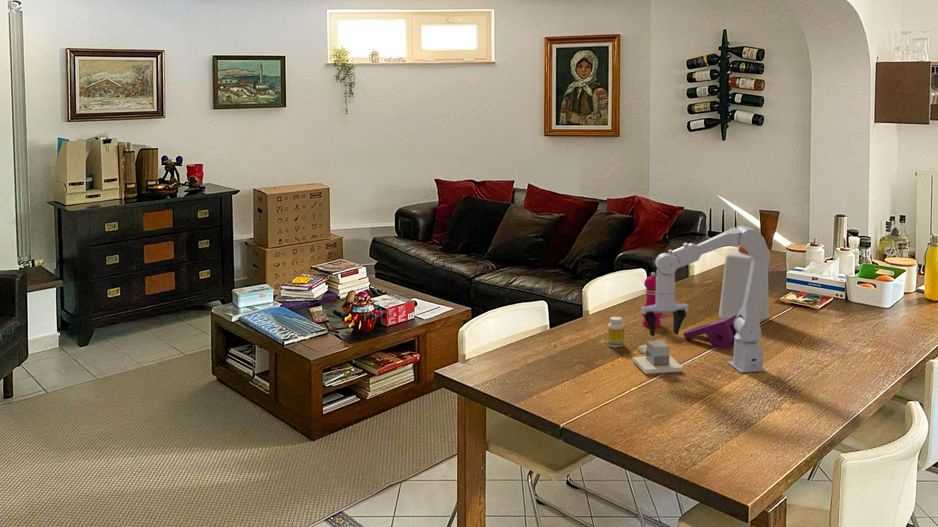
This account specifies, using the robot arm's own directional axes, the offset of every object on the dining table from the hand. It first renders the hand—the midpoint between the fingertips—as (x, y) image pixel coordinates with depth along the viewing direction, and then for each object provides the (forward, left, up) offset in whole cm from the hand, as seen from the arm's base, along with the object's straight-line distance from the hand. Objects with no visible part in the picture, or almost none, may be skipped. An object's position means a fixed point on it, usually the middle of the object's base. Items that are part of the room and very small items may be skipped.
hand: (664, 334), depth 254 cm
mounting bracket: (+21, -24, -11) cm, 34 cm away
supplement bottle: (+23, +8, -11) cm, 26 cm away
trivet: (-1, +2, -10) cm, 11 cm away
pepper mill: (+43, -12, -11) cm, 45 cm away
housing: (-1, +2, -9) cm, 9 cm away
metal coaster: (+15, -2, -10) cm, 18 cm away
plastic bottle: (+44, -48, -11) cm, 65 cm away
